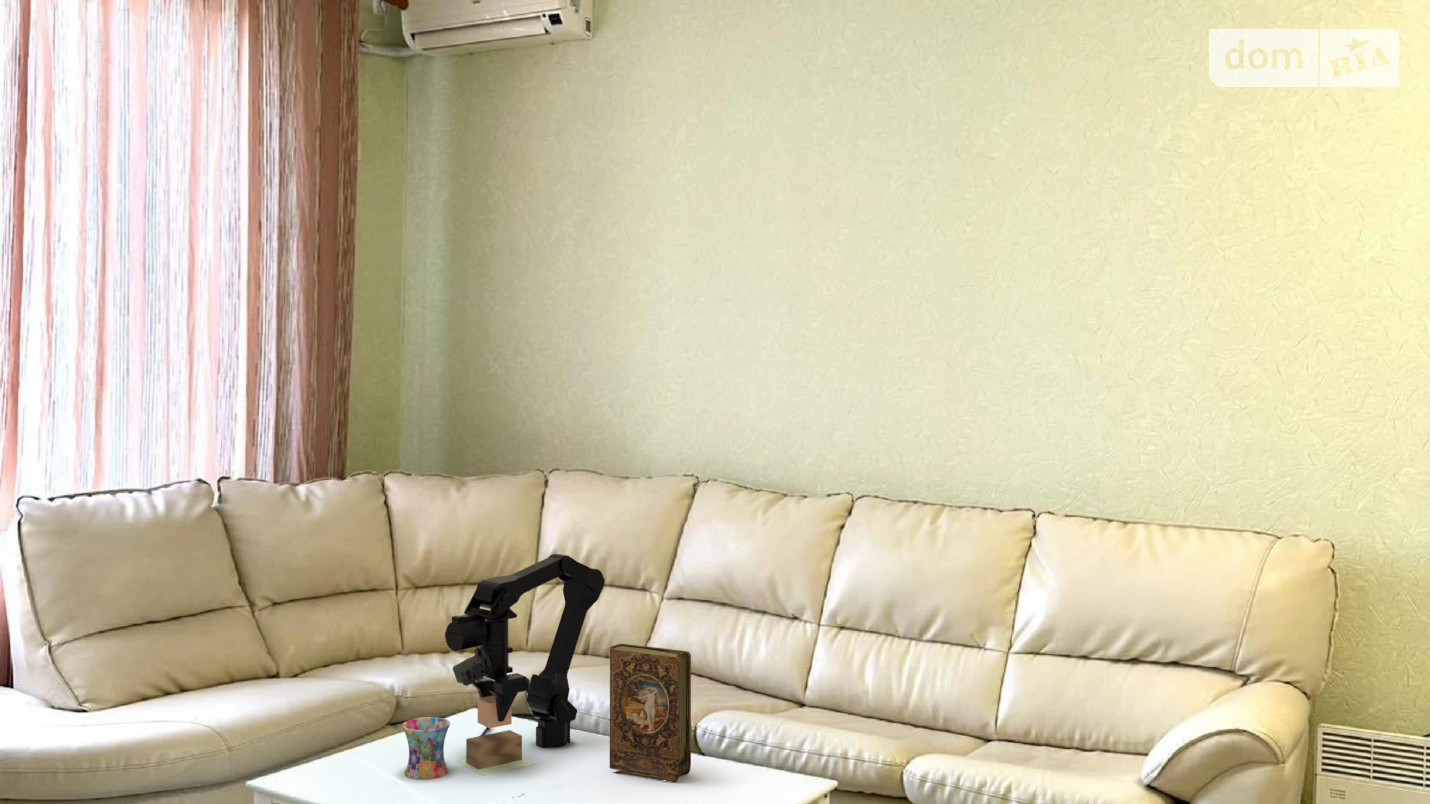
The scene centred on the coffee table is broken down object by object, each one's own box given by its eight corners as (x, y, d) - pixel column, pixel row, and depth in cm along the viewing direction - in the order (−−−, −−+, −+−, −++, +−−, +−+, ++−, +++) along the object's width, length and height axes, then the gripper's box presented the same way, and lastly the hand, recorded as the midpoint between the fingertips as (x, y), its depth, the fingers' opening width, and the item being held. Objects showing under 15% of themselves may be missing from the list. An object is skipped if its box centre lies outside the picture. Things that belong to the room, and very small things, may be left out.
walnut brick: (509, 753, 274) (509, 729, 273) (521, 759, 270) (521, 735, 270) (466, 763, 268) (466, 738, 267) (478, 769, 264) (478, 744, 263)
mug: (437, 786, 256) (437, 732, 256) (393, 781, 258) (393, 728, 258) (464, 767, 268) (463, 715, 267) (422, 762, 270) (422, 711, 269)
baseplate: (505, 752, 277) (505, 748, 277) (534, 767, 268) (534, 763, 268) (453, 763, 270) (453, 759, 270) (482, 779, 260) (482, 775, 260)
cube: (477, 722, 269) (477, 698, 268) (499, 718, 272) (499, 694, 272) (489, 728, 265) (489, 703, 265) (511, 723, 268) (511, 699, 268)
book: (605, 771, 265) (605, 648, 264) (618, 763, 270) (619, 643, 269) (678, 783, 258) (679, 657, 257) (690, 775, 263) (691, 651, 262)
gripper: (436, 639, 270) (437, 714, 271) (481, 657, 255) (481, 736, 256) (485, 632, 277) (485, 705, 278) (531, 648, 262) (531, 726, 263)
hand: (494, 718), depth 268 cm, fingers closed on cube, 5 cm apart
